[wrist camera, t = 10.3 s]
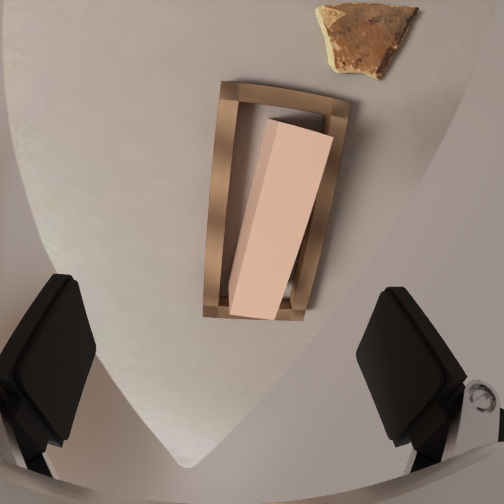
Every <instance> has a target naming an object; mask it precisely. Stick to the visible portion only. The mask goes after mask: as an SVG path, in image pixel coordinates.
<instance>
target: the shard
mask: <svg viewBox="0 0 504 504" xmlns="http://www.w3.org/2000/svg"><path fill="white" fill-rule="evenodd" d="M418 10H419V8H418V7H407V6H390V5H383V4H374V3H372V4H370V3H341V4H336V5H323V6H320V7H318V8H316V10H315V13H316V16H317V18H318V21H319V24H320V27H321V30H322V33H323V35H324V38H325V43H326V50H327V54H328V60H329V65H330V66H331V68H332V69H333V71H334V72H335V73H348V72H349V73H352V72H353V73H363V74H365V75H367V76H369V77H371V78H373V79H376V80H379V79H380V78H381V76H382V74H383V73H384V70H385V69H386V68H387V67H388V65H389V63H390V59H391V58H392V57H393V56H394V54H395V52H396V50H397V49H398V47H399V46H400V44H401V43H402V40H403V39H404V37H405V35H406V33H407V31H408V28H409V26H410V23H411V21H412V19H413V18H414V16H415V15H416V14H417V11H418Z"/></svg>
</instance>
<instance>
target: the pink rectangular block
mask: <svg viewBox="0 0 504 504" xmlns="http://www.w3.org/2000/svg"><path fill="white" fill-rule="evenodd" d="M332 141H333V137H331V136H328V135H325V134H322V133H319V132H315V131H312V130H309V129H305V128H302V127H298V126H294V125H291V124H287V123H283V122H279V121H275V120H271V119H268V122H267V125H266V129H265V133H264V137H263V141H262V145H261V149H260V153H259V157H258V161H257V165H256V169H255V173H254V177H253V181H252V185H251V189H250V193H249V197H248V201H247V205H246V209H245V213H244V217H243V222H242V226H241V230H240V234H239V238H238V242H237V247H236V251H235V255H234V259H233V263H232V268H231V272H230V276H229V280H228V288H229V312H230V315H237V316H245V317H252V318H260V319H268V320H275V317H276V314H277V311H278V309H279V306H280V303H281V300H282V297H283V294H284V292H285V289H286V286H287V283H288V280H289V277H290V274H291V271H292V268H293V265H294V262H295V259H296V256H297V253H298V250H299V247H300V244H301V241H302V238H303V235H304V232H305V229H306V226H307V223H308V220H309V217H310V214H311V210H312V207H313V204H314V201H315V198H316V194H317V191H318V188H319V185H320V181H321V178H322V175H323V172H324V168H325V165H326V161H327V158H328V155H329V151H330V148H331V144H332Z"/></svg>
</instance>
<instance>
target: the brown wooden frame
mask: <svg viewBox="0 0 504 504" xmlns="http://www.w3.org/2000/svg"><path fill="white" fill-rule="evenodd" d="M238 102H247V103H256V104H264V105H271V106H278V107H285V108H291V109H297V110H303V111H308V112H314V113H319V114H324V115H325V118H324V125H323V131H322V134H325V135H328V136H331V137H333V141H332V144H331V148H330V151H329V155H328V158H327V161H326V165H325V168H324V172H323V175H322V178H321V181H320V185H319V188H318V191H317V194H316V198H315V201H314V204H313V207H312V210H311V214H310V217H309V220H308V223H307V226H306V229H305V232H304V235H303V239H302V244H301V249H300V254H299V258H298V263H297V268H296V272H295V277H294V281H293V286H292V290H291V294H290V299H289V300H281V303H280V306H279V309H278V311H277V314H276V317H275V320H288V321H303V319H304V315H305V311H306V308H307V304H308V300H309V297H310V293H311V289H312V285H313V281H314V278H315V274H316V270H317V266H318V262H319V258H320V253H321V249H322V245H323V241H324V237H325V232H326V228H327V224H328V219H329V215H330V210H331V205H332V201H333V196H334V191H335V186H336V181H337V176H338V171H339V166H340V161H341V155H342V150H343V144H344V139H345V133H346V127H347V121H348V115H349V109H350V102H347V101H343V100H339V99H335V98H330V97H326V96H321V95H316V94H311V93H306V92H301V91H295V90H289V89H283V88H277V87H270V86H263V85H255V84H247V83H237V82H227V81H221V88H220V97H219V105H218V114H217V123H216V132H215V142H214V152H213V162H212V173H211V185H210V197H209V210H208V223H207V238H206V255H205V273H204V293H203V317H213V318H231V319H253V320H268V319H260V318H252V317H245V316H237V315H230V312H229V297H219V289H220V277H221V265H222V253H223V242H224V231H225V220H226V210H227V200H228V190H229V181H230V171H231V162H232V153H233V144H234V135H235V127H236V119H237V110H238Z"/></svg>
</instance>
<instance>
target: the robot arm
mask: <svg viewBox="0 0 504 504" xmlns="http://www.w3.org/2000/svg"><path fill="white" fill-rule="evenodd" d="M95 353H96V344H95V341H94V338H93V334H92V331H91V328H90V325H89V321H88V318H87V315H86V311H85V308H84V304H83V300H82V296H81V293H80V289H79V285H78V282H77V281H76V280H74V279H73V277H72V276H71V275H65V274H53V275H52V276H51V278H50V279H49V280H48V282H47V283H46V285H45V286H44V287H43V289H42V290H41V291H40V293H39V294H38V296H37V297H36V299H35V300H34V302H33V303H32V305H31V306H30V308H29V309H28V310H27V312H26V313H25V315H24V316H23V318H22V320H21V321H20V323H19V324H18V326H17V327H16V329H15V331H14V332H13V334H12V335H11V337H10V339H9V340H8V342H7V344H6V346H5V347H4V349H3V351H2V352H1V354H0V504H185V503H171V502H162V501H154V500H146V499H139V498H133V497H127V496H122V495H116V494H112V493H107V492H102V491H98V490H94V489H90V488H86V487H82V486H78V485H75V484H71V483H68V482H64V481H61V480H59V478H58V476H57V474H56V472H55V470H54V468H53V466H52V464H51V462H50V460H49V458H48V455H47V453H46V447H47V444H51V445H54V446H58V447H62V445H63V441H64V440H67V439H68V437H69V435H70V431H71V428H72V424H73V421H74V417H75V413H76V411H77V407H78V404H79V401H80V398H81V394H82V391H83V388H84V385H85V382H86V379H87V376H88V373H89V371H90V368H91V365H92V362H93V359H94V356H95ZM356 358H357V361H358V364H359V366H360V369H361V371H362V373H363V376H364V378H365V380H366V383H367V385H368V388H369V390H370V392H371V395H372V398H373V400H374V403H375V405H376V408H377V410H378V413H379V415H380V418H381V420H382V423H383V425H384V428H385V431H386V433H387V436H388V438H389V439H390V440H393V442H394V445H395V447H398V446H402V445H405V444H408V443H410V442H411V443H412V446H413V448H412V451H411V454H410V457H409V460H408V462H407V465H406V468H405V470H404V473H403V476H401V477H398V478H395V479H392V480H388V481H385V482H382V483H378V484H375V485H371V486H367V487H363V488H359V489H355V490H351V491H346V492H342V493H337V494H332V495H326V496H321V497H315V498H309V499H302V500H294V501H286V502H276V503H263V504H504V409H502V408H500V401H499V397H498V395H497V392H496V391H495V390H494V388H493V387H492V386H491V385H489V384H488V383H486V382H484V381H481V380H472V381H470V382H469V383H468V384H467V385H466V386H465V385H464V384H463V382H464V381H465V379H466V378H467V375H466V374H465V372H464V370H463V369H462V367H461V366H460V364H459V363H458V361H457V360H456V358H455V357H454V355H453V354H452V352H451V351H450V349H449V348H448V346H447V345H446V343H445V342H444V340H443V339H442V337H441V336H440V335H439V333H438V332H437V330H436V329H435V328H434V326H433V325H432V323H431V322H430V321H429V319H428V318H427V316H426V315H425V314H424V312H423V311H422V310H421V308H420V307H419V306H418V304H417V303H416V302H415V300H414V299H413V298H412V296H411V295H410V294H409V292H408V291H407V290H406V289H405V288H404V287H387V288H386V289H385V291H383V292H381V294H380V296H379V298H378V301H377V304H376V306H375V309H374V311H373V313H372V316H371V318H370V321H369V323H368V326H367V328H366V330H365V333H364V335H363V337H362V340H361V342H360V344H359V346H358V349H357V352H356Z"/></svg>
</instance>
